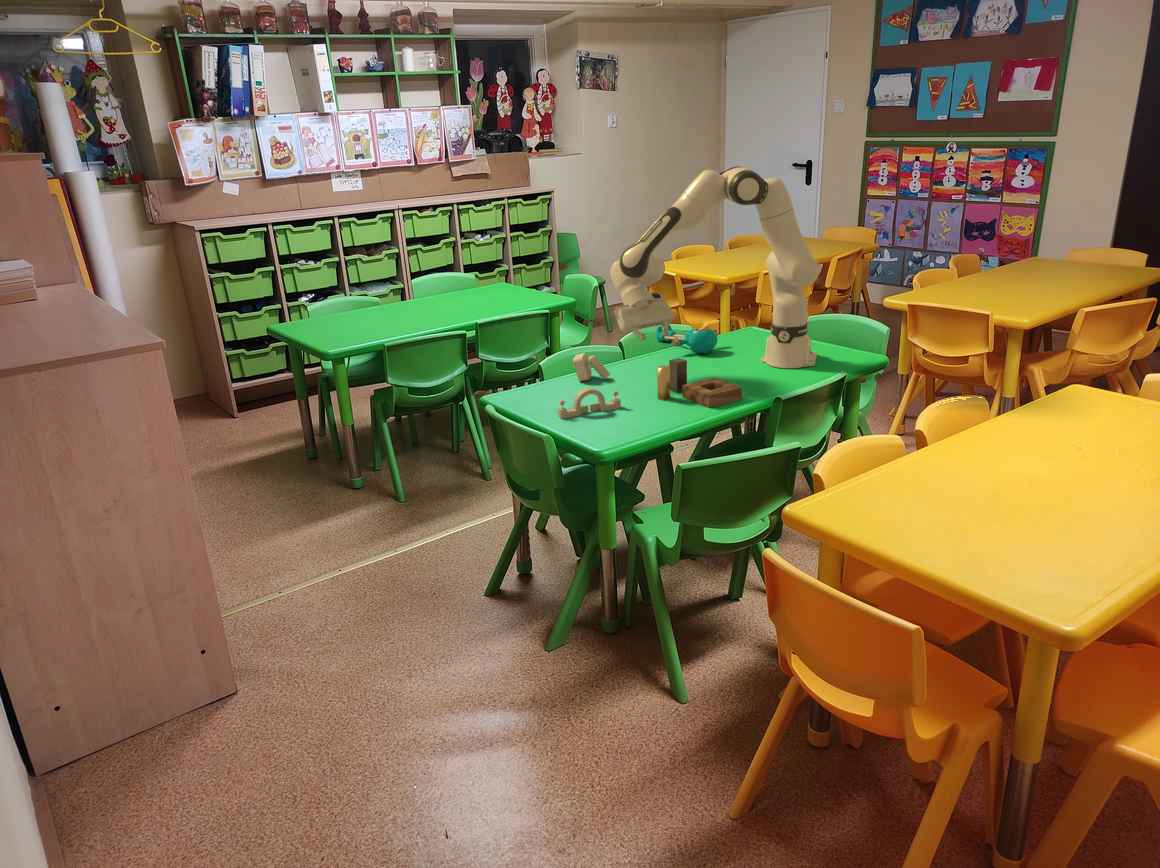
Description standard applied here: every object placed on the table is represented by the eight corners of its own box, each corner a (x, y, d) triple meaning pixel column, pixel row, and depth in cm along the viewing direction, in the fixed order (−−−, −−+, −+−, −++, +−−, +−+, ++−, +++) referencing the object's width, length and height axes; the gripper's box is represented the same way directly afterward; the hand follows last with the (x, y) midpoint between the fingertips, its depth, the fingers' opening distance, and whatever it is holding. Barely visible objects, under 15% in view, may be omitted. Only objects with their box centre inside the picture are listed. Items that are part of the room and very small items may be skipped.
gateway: (617, 407, 250) (616, 382, 247) (620, 409, 248) (620, 384, 245) (558, 418, 243) (556, 393, 241) (561, 420, 241) (559, 395, 239)
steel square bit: (669, 389, 262) (669, 360, 258) (679, 387, 264) (679, 357, 260) (677, 392, 258) (676, 362, 255) (686, 390, 260) (686, 360, 257)
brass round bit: (660, 395, 257) (660, 365, 253) (672, 396, 255) (672, 366, 251) (655, 399, 254) (655, 368, 250) (667, 400, 252) (667, 369, 248)
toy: (684, 320, 325) (732, 323, 299) (687, 344, 327) (734, 349, 301) (638, 329, 315) (683, 332, 289) (641, 354, 317) (686, 360, 291)
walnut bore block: (682, 397, 254) (682, 385, 253) (714, 389, 260) (714, 377, 258) (708, 408, 243) (708, 395, 242) (741, 399, 249) (742, 386, 248)
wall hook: (609, 381, 272) (601, 353, 269) (580, 387, 275) (572, 360, 271) (612, 374, 279) (604, 346, 276) (584, 380, 282) (576, 354, 279)
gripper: (615, 302, 263) (632, 337, 258) (665, 293, 272) (683, 326, 268) (608, 313, 268) (625, 347, 263) (658, 304, 277) (675, 337, 273)
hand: (655, 337), depth 265 cm, fingers open, 8 cm apart
